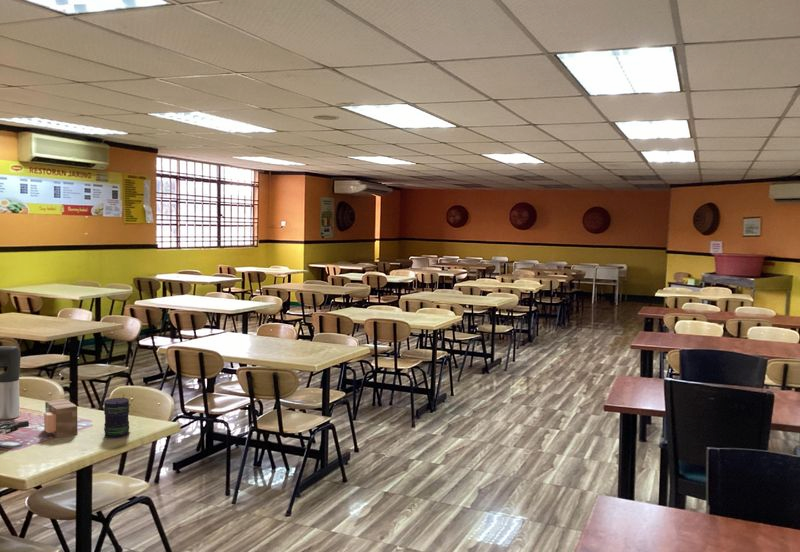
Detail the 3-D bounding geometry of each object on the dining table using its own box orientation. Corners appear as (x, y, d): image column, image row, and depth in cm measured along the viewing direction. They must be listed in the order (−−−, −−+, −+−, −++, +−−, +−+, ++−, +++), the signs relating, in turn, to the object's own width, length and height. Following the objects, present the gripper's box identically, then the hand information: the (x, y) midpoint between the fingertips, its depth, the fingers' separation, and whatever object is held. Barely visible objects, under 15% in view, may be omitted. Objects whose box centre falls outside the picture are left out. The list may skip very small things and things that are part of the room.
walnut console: (45, 428, 283) (45, 401, 282) (65, 425, 288) (65, 398, 288) (57, 437, 270) (56, 409, 270) (77, 433, 276) (77, 406, 275)
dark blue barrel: (104, 433, 278) (104, 398, 277) (129, 430, 282) (128, 397, 281) (104, 439, 268) (103, 404, 268) (129, 437, 272) (129, 402, 272)
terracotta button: (44, 430, 272) (43, 412, 272) (59, 427, 277) (59, 410, 276) (47, 432, 269) (47, 415, 268) (63, 429, 273) (63, 412, 273)
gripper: (-18, 425, 249) (32, 417, 261) (-25, 418, 259) (24, 411, 271) (-18, 444, 250) (32, 436, 261) (-25, 436, 259) (24, 428, 271)
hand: (28, 423), depth 266 cm, fingers closed
